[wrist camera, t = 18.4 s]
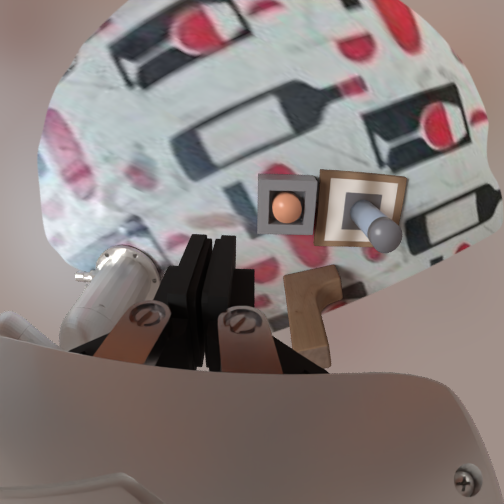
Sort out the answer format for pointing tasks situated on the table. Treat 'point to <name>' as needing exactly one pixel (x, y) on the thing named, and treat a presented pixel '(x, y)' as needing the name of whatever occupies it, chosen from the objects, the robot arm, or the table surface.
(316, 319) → the wooden block
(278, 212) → the button
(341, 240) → the picture frame
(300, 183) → the button housing
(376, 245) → the grey capped shaker
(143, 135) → the table surface
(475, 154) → the table surface
